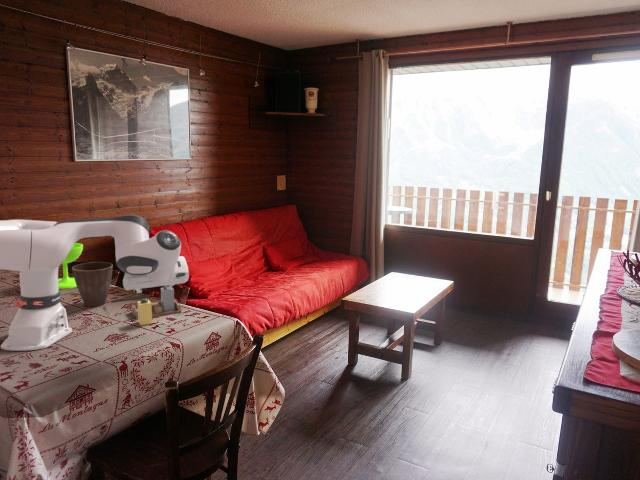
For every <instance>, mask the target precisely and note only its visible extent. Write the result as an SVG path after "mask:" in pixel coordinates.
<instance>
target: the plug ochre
mask: <svg viewBox="0 0 640 480" xmlns="http://www.w3.org/2000/svg"><path fill="white" fill-rule="evenodd" d="M136 303H137V304H138V320H137V323H138V324H139V326H145V325H152V324H153V317H152V303H151V301H150V300H149V298H144V299H140V300H138V301H137V302H136Z"/></svg>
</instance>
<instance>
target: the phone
mask: <svg viewBox="0 0 640 480" xmlns="http://www.w3.org/2000/svg"><path fill="white" fill-rule="evenodd" d="M149 298H150V299H151V296H150V295H148V294H142V295H138V296H131V297H124V298H119V299H112V300H111V301H110V302H111V304H112V303H121V302H127V301H135V300H141V299H149Z"/></svg>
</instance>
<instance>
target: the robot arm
mask: <svg viewBox="0 0 640 480" xmlns="http://www.w3.org/2000/svg"><path fill="white" fill-rule="evenodd" d="M107 236H108V237H112V238H114V246H115V251H114V252H115V262H116V263H115V264H116V267H117V269H119V270H120V271H122V272H123V273H124V276H123V279H122V286H123V288H124V290H126V291H132V290H135V291H136V294H142V293H143V289H147V288H148V289H149V288H155V287H164V286H165V287H166V289H171V287H172V288H173V287H174V286H175V285H178V284H179V285H180V284H185V283H186V282H188V281H189V278H190V274H189V273H190V271H189V266H188V264H187V260H186V258H185V256H182V255H180V254H181V249H182V242H181V240H180V238H179V236H178V235H177V234H175V233H174V232H173V231H170V230H165V229H164V230H160V231H159V232H157V233H156V234H155V235H154V236H152V237H150V224H149V222H148V221H147V220H146V219H145V218H143V217H142V216H140V215H137V214H134V213H133V214H124V215H118V216H113V217H112V216H111V217H95V218H79V219H77V218H76V219H67V220H60V221H54V220H53V221H49V220H48V221H47V220H33V219H6V220H5V219H4V220H0V273H1V270H4V271H14V272H19V287H20V295H19V298H18V300H15V301H14V307H15V308H16V307H18V310H17V312H16V314H15V315H14V318H13V320H12V322H11V323H10V326H9V328H8V336H7V337H6V338H5V340H4V341H3V342H2V344H0V349H1V350H5V351H21V352H22V351H34V350H35V351H36V350H42V349H46V348H48V347H50V346H52V345H53V344H55V343H56V342H58V341H60V340H61V339H63V338H65V337H66V336H68V335H70V334H71V333H72V332H73V328H72V327H70V326H69V322H68V316H67V315H68V314H67V311H66V308H65V307H64V306H63V304H62V303H61V301H62V294H61V289H59V286H58V279H59V268H60V266H61V265H63V264H62V263H63V262H64V260H65V259H66V257H67V256H68V254H69V252H70V250H71V249H72V247H73V245H74V243H77V242H78V241H80V240H81V239H85V238H86V239H87V238H95V237H96V238H97V237H107Z"/></svg>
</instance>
